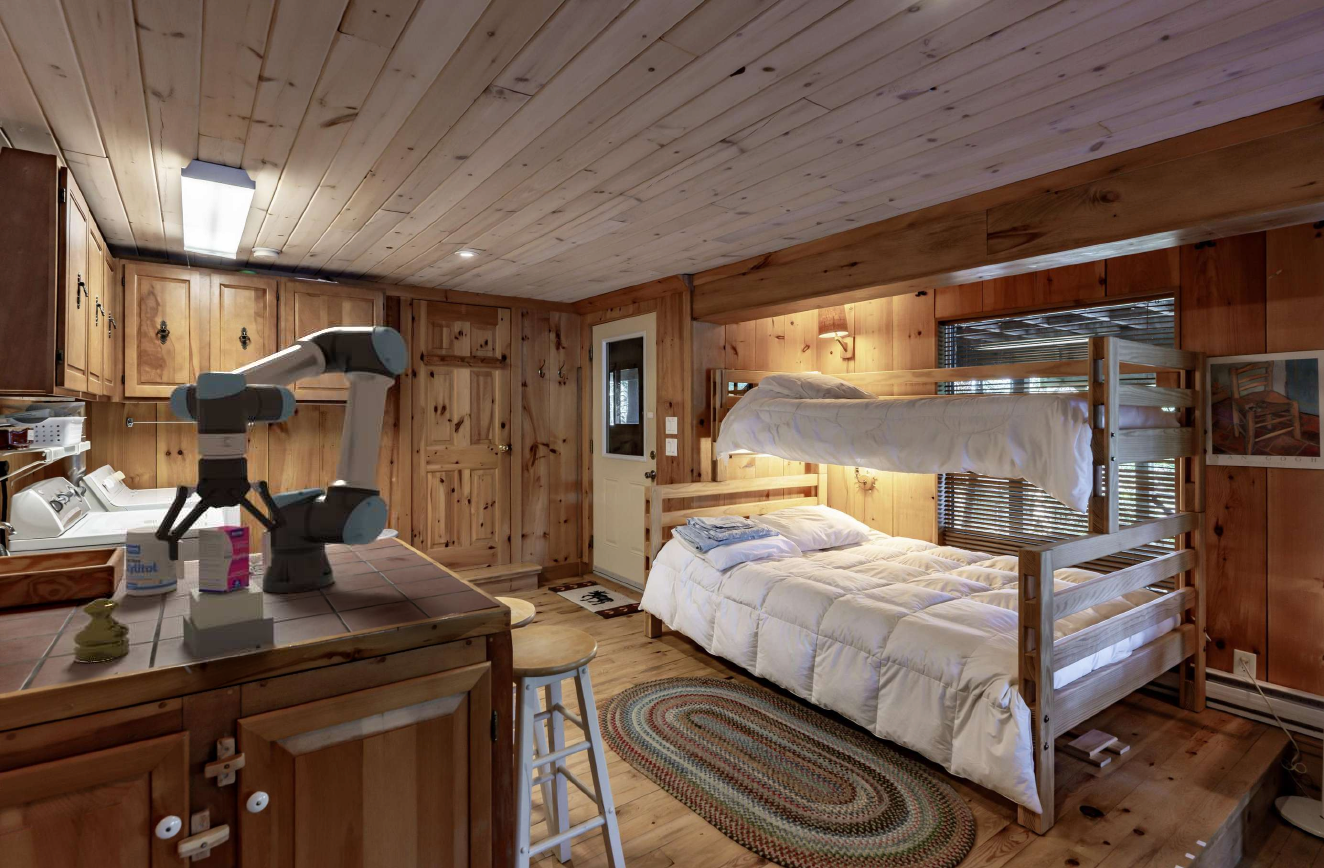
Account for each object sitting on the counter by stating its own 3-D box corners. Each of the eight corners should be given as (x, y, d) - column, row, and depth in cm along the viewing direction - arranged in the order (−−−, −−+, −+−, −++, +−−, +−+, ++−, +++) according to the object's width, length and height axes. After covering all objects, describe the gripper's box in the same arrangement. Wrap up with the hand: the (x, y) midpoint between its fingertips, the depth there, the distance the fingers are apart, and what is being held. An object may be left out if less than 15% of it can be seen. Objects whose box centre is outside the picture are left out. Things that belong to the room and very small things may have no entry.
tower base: (183, 641, 123) (183, 615, 123) (257, 627, 131) (256, 602, 131) (195, 660, 114) (195, 632, 114) (273, 643, 123) (273, 617, 122)
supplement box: (223, 593, 118) (222, 530, 118) (197, 592, 120) (196, 529, 120) (251, 586, 124) (249, 525, 124) (226, 585, 125) (224, 524, 125)
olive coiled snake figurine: (90, 666, 110) (89, 608, 110) (64, 660, 113) (62, 602, 113) (139, 651, 117) (138, 596, 117) (113, 645, 120) (111, 591, 119)
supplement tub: (119, 599, 147) (117, 533, 147) (134, 588, 156) (132, 526, 155) (172, 594, 151) (170, 531, 150) (183, 584, 160) (182, 523, 159)
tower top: (190, 615, 123) (189, 589, 122) (252, 605, 129) (251, 579, 129) (197, 629, 115) (197, 601, 115) (263, 617, 122) (262, 591, 122)
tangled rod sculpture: (189, 584, 164) (188, 568, 164) (215, 565, 178) (214, 551, 178) (274, 579, 168) (273, 563, 168) (294, 561, 182) (292, 546, 182)
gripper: (140, 461, 109) (143, 588, 110) (303, 454, 127) (305, 563, 128) (133, 458, 114) (136, 579, 115) (291, 452, 132) (292, 556, 133)
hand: (225, 571), depth 122 cm, fingers open, 13 cm apart
